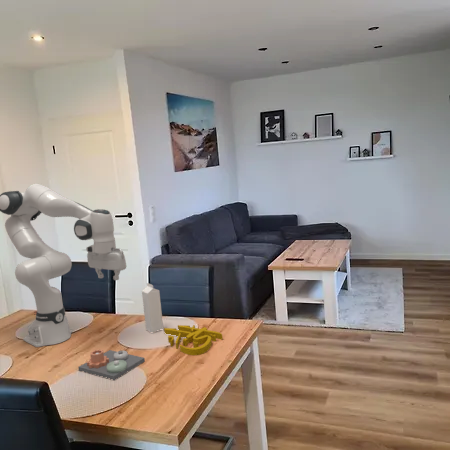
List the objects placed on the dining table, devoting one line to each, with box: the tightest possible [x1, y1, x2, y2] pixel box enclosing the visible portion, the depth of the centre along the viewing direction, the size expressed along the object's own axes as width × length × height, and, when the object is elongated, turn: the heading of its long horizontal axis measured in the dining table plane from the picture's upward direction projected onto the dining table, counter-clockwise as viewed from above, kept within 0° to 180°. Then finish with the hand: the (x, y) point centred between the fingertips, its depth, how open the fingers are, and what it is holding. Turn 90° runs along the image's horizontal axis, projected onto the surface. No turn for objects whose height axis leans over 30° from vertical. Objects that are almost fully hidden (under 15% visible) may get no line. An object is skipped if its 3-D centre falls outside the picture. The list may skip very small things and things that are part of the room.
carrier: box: [77, 349, 146, 381], centre depth 165 cm, size 19×16×6 cm
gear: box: [86, 349, 109, 368], centre depth 164 cm, size 8×8×5 cm
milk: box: [141, 282, 164, 333], centre depth 198 cm, size 6×6×22 cm
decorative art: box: [163, 324, 224, 356], centre depth 184 cm, size 21×3×30 cm
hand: (108, 278), depth 185 cm, fingers open, 8 cm apart
